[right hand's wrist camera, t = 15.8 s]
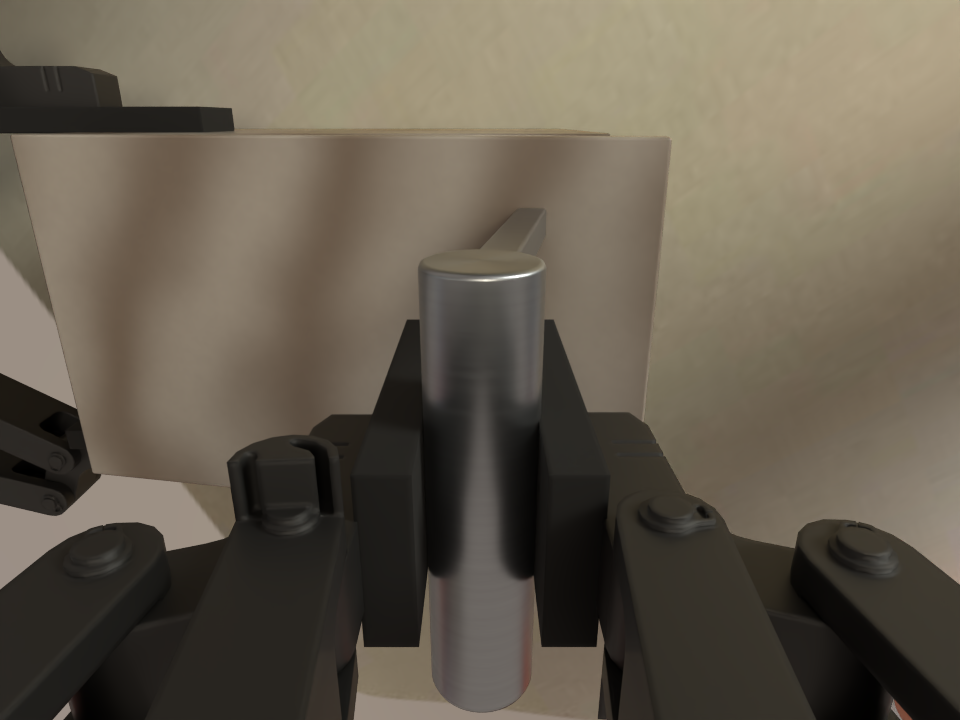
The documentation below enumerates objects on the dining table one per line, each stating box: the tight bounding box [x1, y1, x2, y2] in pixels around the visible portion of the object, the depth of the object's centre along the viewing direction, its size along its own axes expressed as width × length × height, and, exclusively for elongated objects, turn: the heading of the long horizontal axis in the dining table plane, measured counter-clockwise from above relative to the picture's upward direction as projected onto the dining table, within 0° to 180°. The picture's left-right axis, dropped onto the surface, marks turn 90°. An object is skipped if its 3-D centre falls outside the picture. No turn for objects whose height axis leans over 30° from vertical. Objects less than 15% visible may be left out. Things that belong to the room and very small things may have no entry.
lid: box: [11, 134, 672, 712], centre depth 14 cm, size 17×10×9 cm, turn 90°
